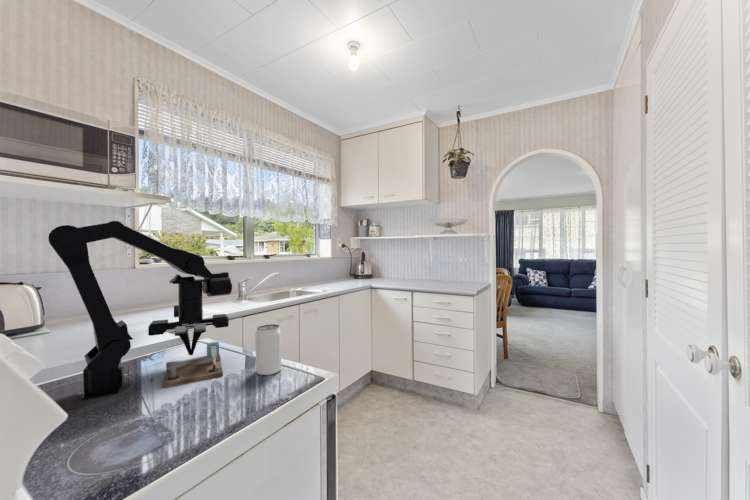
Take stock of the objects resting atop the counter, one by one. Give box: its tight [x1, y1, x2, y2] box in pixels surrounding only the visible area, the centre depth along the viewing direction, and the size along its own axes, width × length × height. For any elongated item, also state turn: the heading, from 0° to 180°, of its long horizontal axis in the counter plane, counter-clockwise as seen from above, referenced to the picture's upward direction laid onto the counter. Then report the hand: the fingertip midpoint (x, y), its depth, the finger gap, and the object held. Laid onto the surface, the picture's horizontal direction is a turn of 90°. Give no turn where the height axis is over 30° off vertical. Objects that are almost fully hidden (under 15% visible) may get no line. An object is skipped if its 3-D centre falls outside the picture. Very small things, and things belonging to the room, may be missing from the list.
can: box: [254, 323, 282, 376], centre depth 84 cm, size 6×6×12 cm
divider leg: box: [206, 341, 220, 369], centre depth 87 cm, size 3×10×4 cm, turn 30°
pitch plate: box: [162, 353, 224, 389], centre depth 83 cm, size 13×12×4 cm
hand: (191, 354), depth 87 cm, fingers closed
